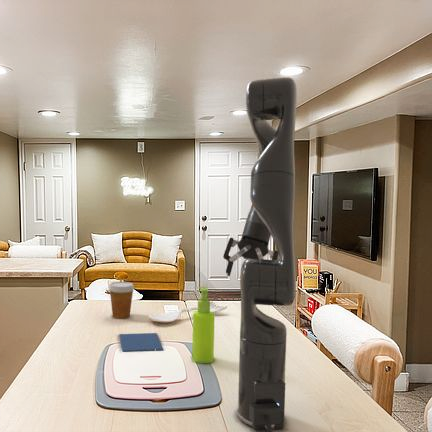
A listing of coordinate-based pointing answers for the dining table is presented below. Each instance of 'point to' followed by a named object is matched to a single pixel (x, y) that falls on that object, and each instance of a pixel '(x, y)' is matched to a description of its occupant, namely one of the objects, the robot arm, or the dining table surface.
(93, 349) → the dining table surface
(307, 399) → the dining table surface
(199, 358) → the soap dispenser
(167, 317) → the spoon
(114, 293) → the disposable coffee cup
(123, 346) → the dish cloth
